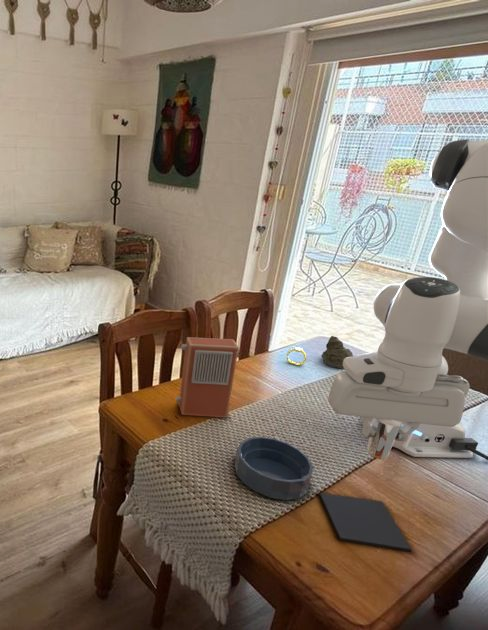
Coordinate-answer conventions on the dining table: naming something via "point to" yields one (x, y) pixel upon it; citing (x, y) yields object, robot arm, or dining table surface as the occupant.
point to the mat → (363, 522)
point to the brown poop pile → (335, 353)
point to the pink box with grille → (207, 376)
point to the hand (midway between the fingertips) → (382, 437)
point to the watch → (297, 351)
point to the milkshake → (383, 437)
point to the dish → (273, 468)
